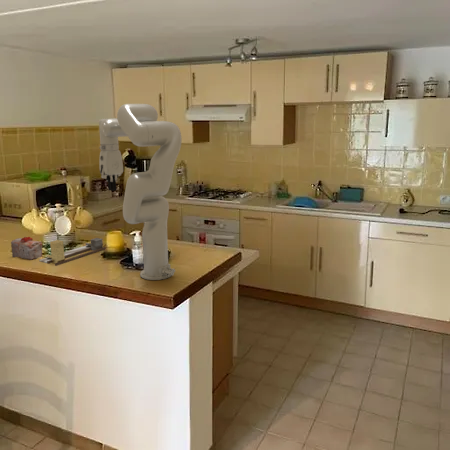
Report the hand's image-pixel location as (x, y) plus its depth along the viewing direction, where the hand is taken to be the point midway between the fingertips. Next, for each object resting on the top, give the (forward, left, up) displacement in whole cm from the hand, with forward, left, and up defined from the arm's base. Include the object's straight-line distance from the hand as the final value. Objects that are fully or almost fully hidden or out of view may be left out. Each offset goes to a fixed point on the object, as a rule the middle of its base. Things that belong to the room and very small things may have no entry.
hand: (112, 190), depth 202 cm
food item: (+27, +26, -29) cm, 48 cm away
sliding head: (+11, +25, -28) cm, 39 cm away
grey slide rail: (+11, +15, -29) cm, 34 cm away
